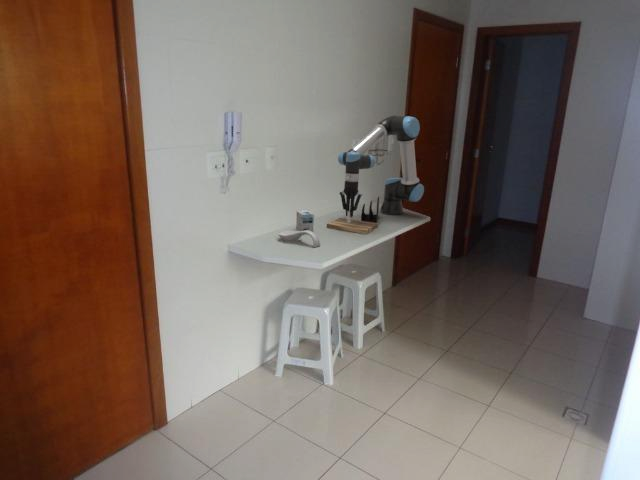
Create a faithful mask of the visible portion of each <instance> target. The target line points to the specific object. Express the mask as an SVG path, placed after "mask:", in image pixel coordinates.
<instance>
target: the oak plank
mask: <svg viewBox="0 0 640 480" xmlns="http://www.w3.org/2000/svg"><path fill="white" fill-rule="evenodd" d="M326 228H328V229H334V230H340V231H345V232H351V233H358V234H363V235H367V234H369V233H371V232H372V231H373V230H372V227H369V226H363V225H357V224H351V223H344V222H338V221H335V220H332V221H330V222H328V223H326Z"/></svg>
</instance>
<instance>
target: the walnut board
mask: <svg viewBox="0 0 640 480" xmlns="http://www.w3.org/2000/svg"><path fill="white" fill-rule="evenodd" d="M334 221H338V222H344V223H347V217H339V218H337V219H335V220H334ZM350 223H351V224H357V225H363V226H369V227H372V231H374V230H375V229H376V228H378V227H379V223H378V222H377V223H372V222H366V221H361V220H360V219H359V220H358V219H353V218H351V222H350Z"/></svg>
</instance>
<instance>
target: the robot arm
mask: <svg viewBox="0 0 640 480" xmlns="http://www.w3.org/2000/svg"><path fill="white" fill-rule="evenodd" d="M420 127H421V126H420V121H419V120H418V119H417V118H416V117H414V116H409V115H408V116H405V115H390V116H387V117H385V118H383V119H382V120H381V121H379V122H378V123H376V124H375V125H374V127H373V129H372V130H371V131H370V132H369V133H367V134H366V135H365V136H364V137H362V139H360V140H359V141H358V142H356V144H354V145H353V146H352V147H351V148H350V149H348V151H343V152H340V153H339V155H338V157H337V162H338V164H340V165H342V166H345V173H344V174H345V175H344V188H343V190H342V191H340V192H339V195H340V197H341V198H340V199H341V203H342V210H344V211H345V217H346V218H347V223H350V222H351V219H352V217H353V216H354V212H355V211H357V209H358V207H359V203H360V200H361V198H362V196H363V194H362V193H360V192H359V180H360V179H359V176H360V170H366V169H367V170H368V169H372V168H374V167H375V164H376V158H375V157H374V155H372V154H366V153H367V152H368V151H369V150H370V149H372V148H373V147H374V146H375V145H376V144H378V143H379V142H380V140H382V139H385V138H387V137H389V136H396V141H397V142H398V143H399V150H400V151H399V152H400V161H401V163H400V164H401V171H402V172H401V173H402V177H389V178H386V179H385V183H384V195H383V202H382V204H381V206H380V207H379V209H380V210H379V212H380V213H381V214H385V215H389V216H390V215H391V216H400V215H403V214H404V207H403V203H402V200H404V201H408V202H414V203H415V202H416V203H417V202H419V201H420V200H421V199H422V197H423V196H424V193H425V186H424V185H423V184H421V183H420V179H419V177H417V176H418V175H417V166H416V165H417V164H416V162H417V161H416V150H415V141H416V140H417V137H418V135H419V133H420V130H421V128H420Z"/></svg>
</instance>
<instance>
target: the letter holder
mask: <svg viewBox="0 0 640 480" xmlns="http://www.w3.org/2000/svg"><path fill="white" fill-rule="evenodd" d="M376 200H377V201H376V214H374V212H373V209H372V208H373V207H372V205H373V200H370V204H369V208H368V213H365V206H366V205H365V203H363V205H362V209H361V215H360V221H366V222H372V223H378V221H379V220H378V219H379V212H380V210H379V209H380V207H379V205H380V196H378V197H377V199H376Z"/></svg>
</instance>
